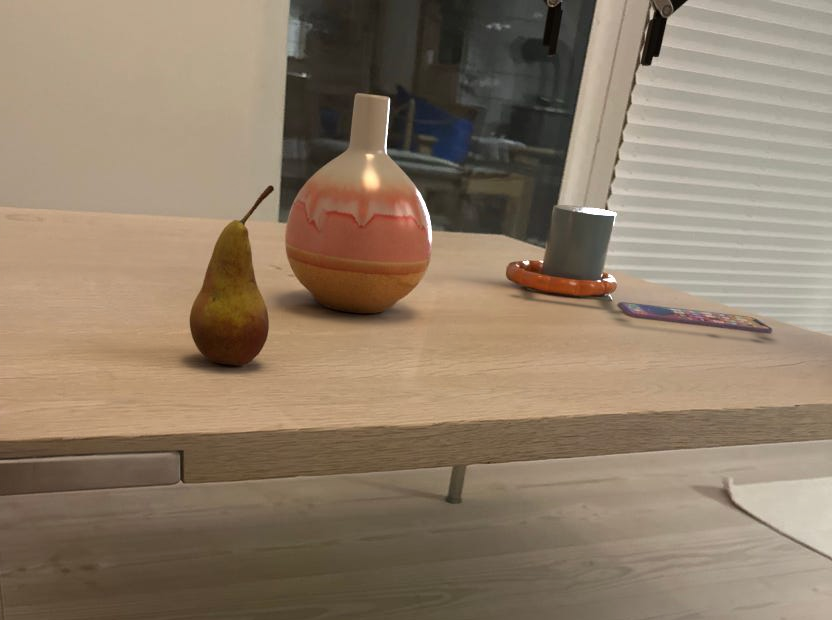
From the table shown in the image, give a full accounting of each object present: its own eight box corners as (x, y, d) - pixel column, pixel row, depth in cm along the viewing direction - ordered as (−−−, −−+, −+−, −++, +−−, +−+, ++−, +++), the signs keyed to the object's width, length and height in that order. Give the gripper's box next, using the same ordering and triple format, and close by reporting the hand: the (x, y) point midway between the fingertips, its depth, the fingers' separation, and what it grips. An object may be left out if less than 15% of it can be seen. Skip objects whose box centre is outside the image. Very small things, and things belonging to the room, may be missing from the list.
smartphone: (613, 309, 101) (750, 325, 100) (627, 323, 94) (773, 339, 94) (615, 301, 100) (753, 316, 100) (629, 313, 94) (776, 330, 94)
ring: (609, 282, 110) (612, 268, 109) (618, 302, 99) (622, 286, 98) (505, 269, 111) (508, 255, 110) (503, 287, 100) (506, 271, 99)
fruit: (219, 347, 71) (223, 174, 65) (281, 364, 69) (291, 186, 63) (171, 360, 67) (171, 176, 61) (235, 378, 64) (242, 189, 58)
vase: (261, 308, 84) (271, 84, 75) (306, 284, 96) (320, 87, 86) (406, 332, 82) (434, 103, 73) (435, 305, 93) (463, 104, 84)
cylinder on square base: (602, 293, 109) (621, 210, 104) (610, 308, 101) (631, 219, 96) (526, 283, 109) (541, 200, 105) (528, 298, 102) (545, 209, 97)
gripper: (725, -140, 88) (676, 70, 97) (543, -156, 89) (512, 54, 98) (744, -159, 81) (690, 68, 90) (548, -176, 83) (514, 50, 91)
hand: (597, 60), depth 94 cm, fingers open, 9 cm apart
